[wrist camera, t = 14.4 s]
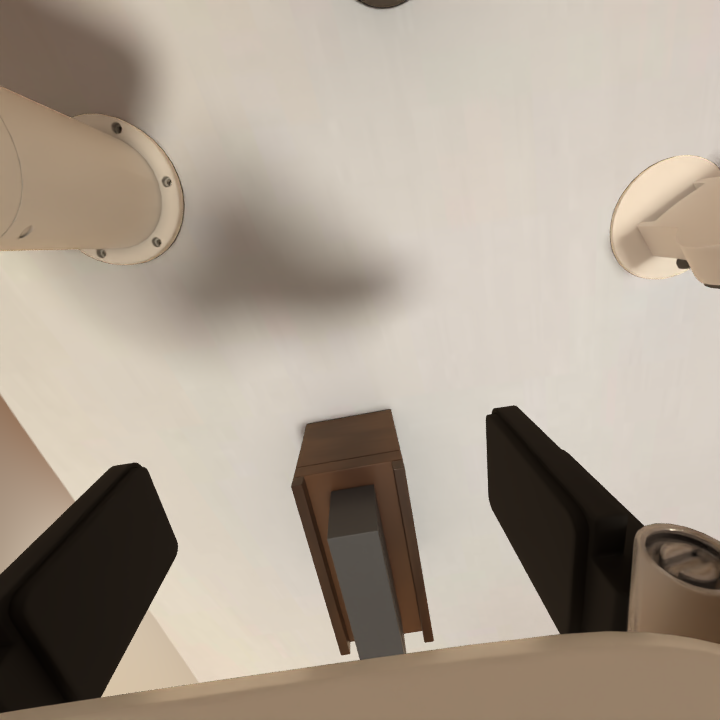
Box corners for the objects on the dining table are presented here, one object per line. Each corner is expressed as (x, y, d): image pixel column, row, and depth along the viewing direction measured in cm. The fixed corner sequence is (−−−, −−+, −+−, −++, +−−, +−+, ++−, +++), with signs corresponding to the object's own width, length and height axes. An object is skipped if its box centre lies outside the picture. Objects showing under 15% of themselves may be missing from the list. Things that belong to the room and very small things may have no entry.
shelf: (343, 564, 48) (341, 655, 37) (306, 423, 41) (290, 486, 31) (415, 553, 48) (433, 641, 37) (390, 409, 41) (404, 467, 30)
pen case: (365, 627, 38) (367, 688, 33) (330, 491, 32) (326, 539, 27) (402, 621, 38) (410, 682, 33) (374, 483, 32) (378, 530, 27)
